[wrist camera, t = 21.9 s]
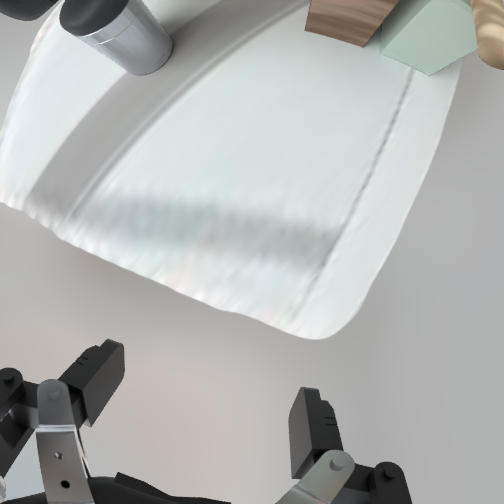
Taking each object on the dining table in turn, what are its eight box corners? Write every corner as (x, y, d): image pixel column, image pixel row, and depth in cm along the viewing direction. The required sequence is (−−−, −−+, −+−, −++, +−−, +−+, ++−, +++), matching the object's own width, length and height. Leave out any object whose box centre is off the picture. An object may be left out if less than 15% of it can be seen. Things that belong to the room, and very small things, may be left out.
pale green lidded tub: (433, 78, 35) (516, 36, 12) (374, 51, 35) (439, -20, 12) (433, 31, 32) (499, -20, 9) (377, 5, 32) (427, -66, 9)
